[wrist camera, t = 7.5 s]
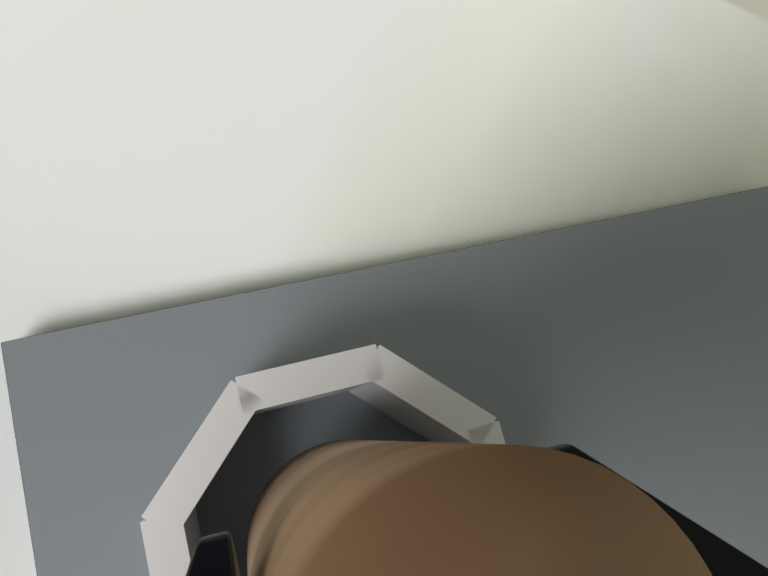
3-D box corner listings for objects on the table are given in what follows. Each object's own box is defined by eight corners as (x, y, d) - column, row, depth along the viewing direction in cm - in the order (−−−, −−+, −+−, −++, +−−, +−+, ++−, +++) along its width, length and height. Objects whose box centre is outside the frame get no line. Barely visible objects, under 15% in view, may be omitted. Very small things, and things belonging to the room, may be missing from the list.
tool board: (760, 194, 24) (874, 140, 19) (892, 557, 22) (1054, 588, 17) (13, 347, 17) (-62, 318, 13) (99, 884, 15) (44, 1061, 11)
